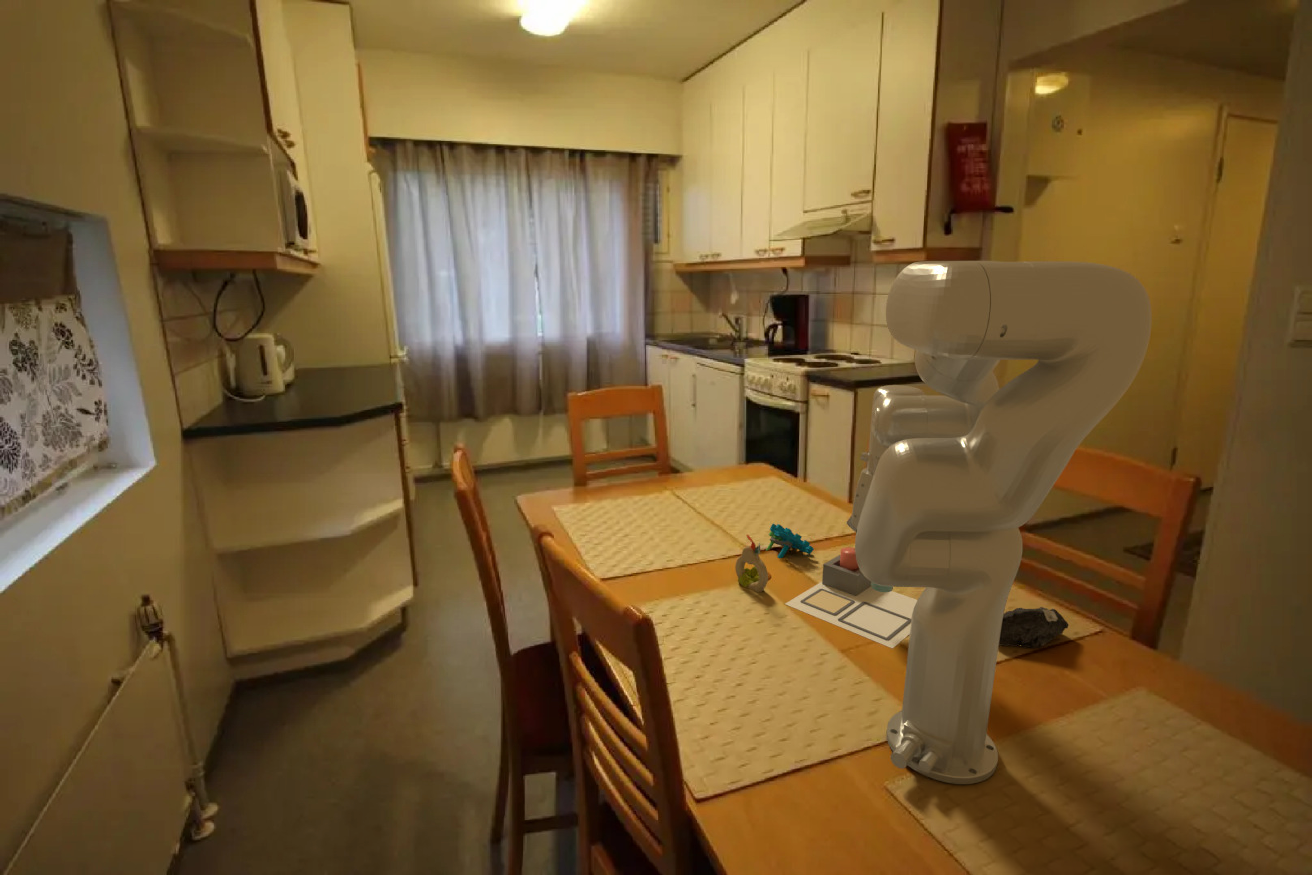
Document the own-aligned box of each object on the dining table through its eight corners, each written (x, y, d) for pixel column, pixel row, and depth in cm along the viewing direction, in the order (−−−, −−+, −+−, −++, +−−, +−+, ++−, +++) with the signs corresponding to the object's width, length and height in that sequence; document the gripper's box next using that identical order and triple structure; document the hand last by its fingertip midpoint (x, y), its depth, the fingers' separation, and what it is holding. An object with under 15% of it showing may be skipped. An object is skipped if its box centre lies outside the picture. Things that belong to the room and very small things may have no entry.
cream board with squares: (892, 651, 101) (892, 647, 101) (784, 606, 115) (784, 603, 115) (939, 610, 113) (940, 607, 113) (837, 574, 127) (837, 571, 127)
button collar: (856, 596, 117) (857, 575, 116) (822, 583, 122) (823, 564, 121) (874, 583, 122) (876, 564, 121) (841, 572, 127) (842, 553, 126)
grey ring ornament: (790, 591, 121) (793, 533, 118) (752, 600, 117) (754, 541, 115) (767, 574, 127) (769, 520, 125) (731, 583, 124) (732, 526, 121)
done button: (852, 582, 119) (854, 556, 118) (835, 575, 122) (837, 551, 121) (862, 575, 122) (864, 551, 121) (845, 569, 124) (846, 545, 123)
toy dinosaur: (824, 553, 133) (796, 526, 129) (809, 577, 132) (780, 550, 127) (788, 541, 143) (761, 516, 139) (774, 564, 141) (746, 539, 137)
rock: (1010, 626, 98) (1019, 572, 103) (970, 638, 105) (981, 587, 110) (1077, 669, 97) (1082, 613, 103) (1032, 679, 104) (1039, 626, 110)
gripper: (832, 459, 104) (825, 564, 109) (935, 483, 92) (922, 599, 97) (856, 450, 109) (848, 550, 114) (956, 472, 97) (943, 582, 102)
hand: (882, 572), depth 105 cm, fingers closed on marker, 3 cm apart
